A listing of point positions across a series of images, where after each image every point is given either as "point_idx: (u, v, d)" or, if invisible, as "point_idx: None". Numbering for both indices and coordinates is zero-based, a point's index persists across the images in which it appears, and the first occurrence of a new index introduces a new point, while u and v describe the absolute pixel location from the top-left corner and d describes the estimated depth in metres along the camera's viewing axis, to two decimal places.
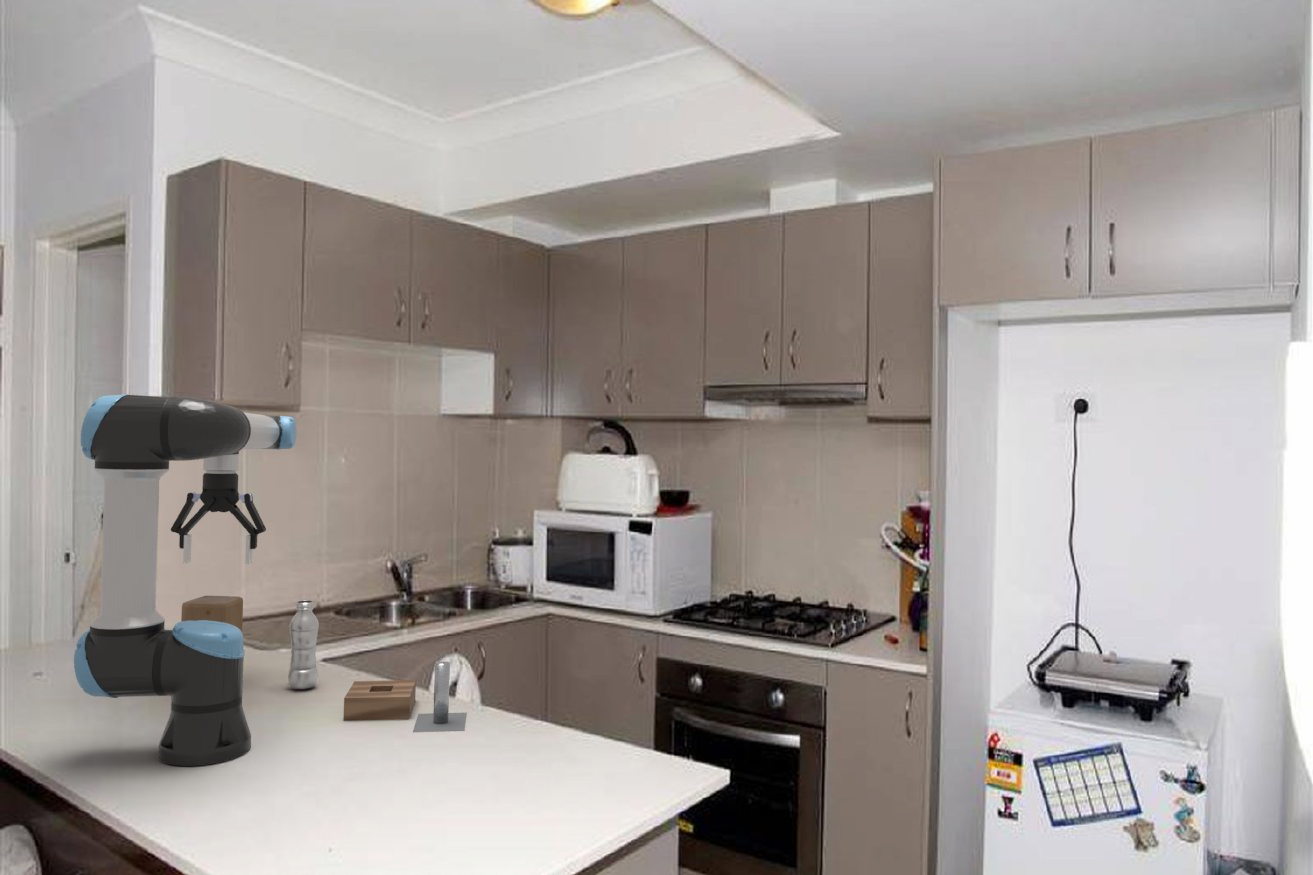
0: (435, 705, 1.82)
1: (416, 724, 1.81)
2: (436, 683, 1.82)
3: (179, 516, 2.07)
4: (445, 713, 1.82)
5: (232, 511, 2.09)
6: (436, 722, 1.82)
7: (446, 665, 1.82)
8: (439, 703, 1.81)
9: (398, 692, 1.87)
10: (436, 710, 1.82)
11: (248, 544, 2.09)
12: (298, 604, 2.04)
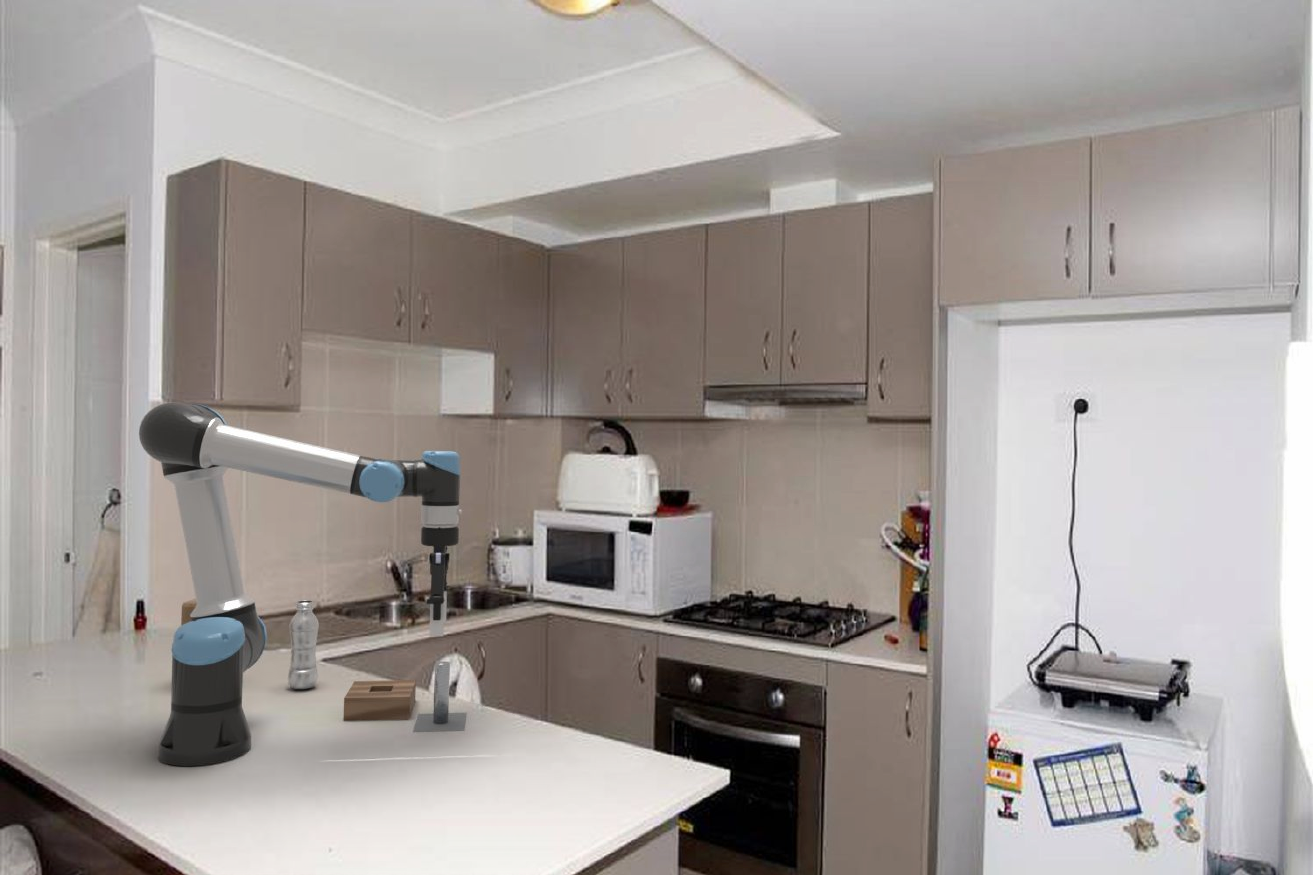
0: (435, 705, 1.82)
1: (416, 724, 1.81)
2: (436, 683, 1.82)
3: None
4: (445, 713, 1.82)
5: (430, 571, 1.80)
6: (436, 722, 1.82)
7: (446, 665, 1.82)
8: (439, 703, 1.81)
9: (398, 692, 1.87)
10: (436, 710, 1.82)
11: (430, 613, 1.77)
12: (298, 604, 2.04)
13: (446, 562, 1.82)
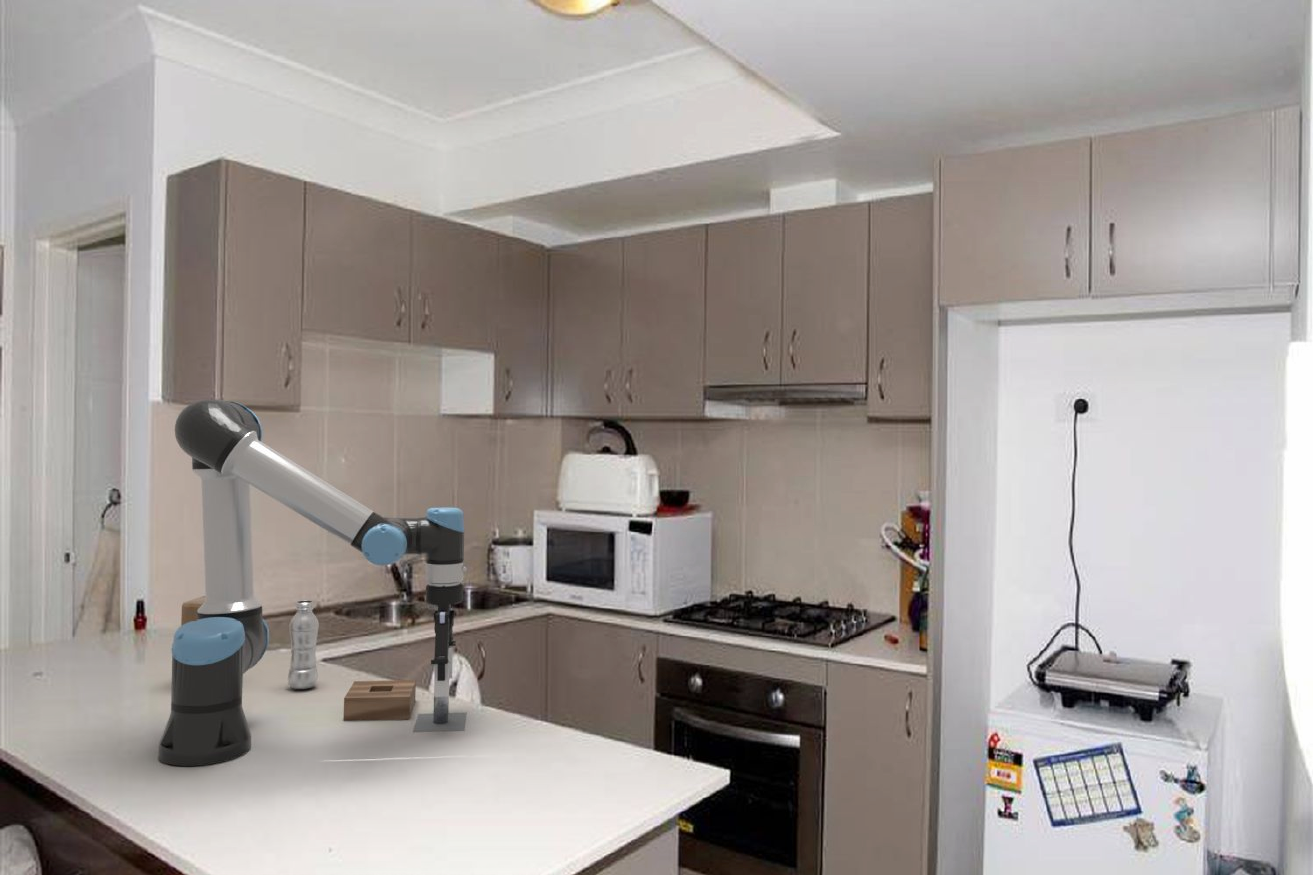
0: (435, 705, 1.82)
1: (416, 724, 1.81)
2: None
3: None
4: (445, 713, 1.82)
5: None
6: (436, 722, 1.82)
7: None
8: (439, 703, 1.81)
9: (398, 692, 1.87)
10: (436, 710, 1.82)
11: None
12: (298, 604, 2.04)
13: (451, 620, 1.81)
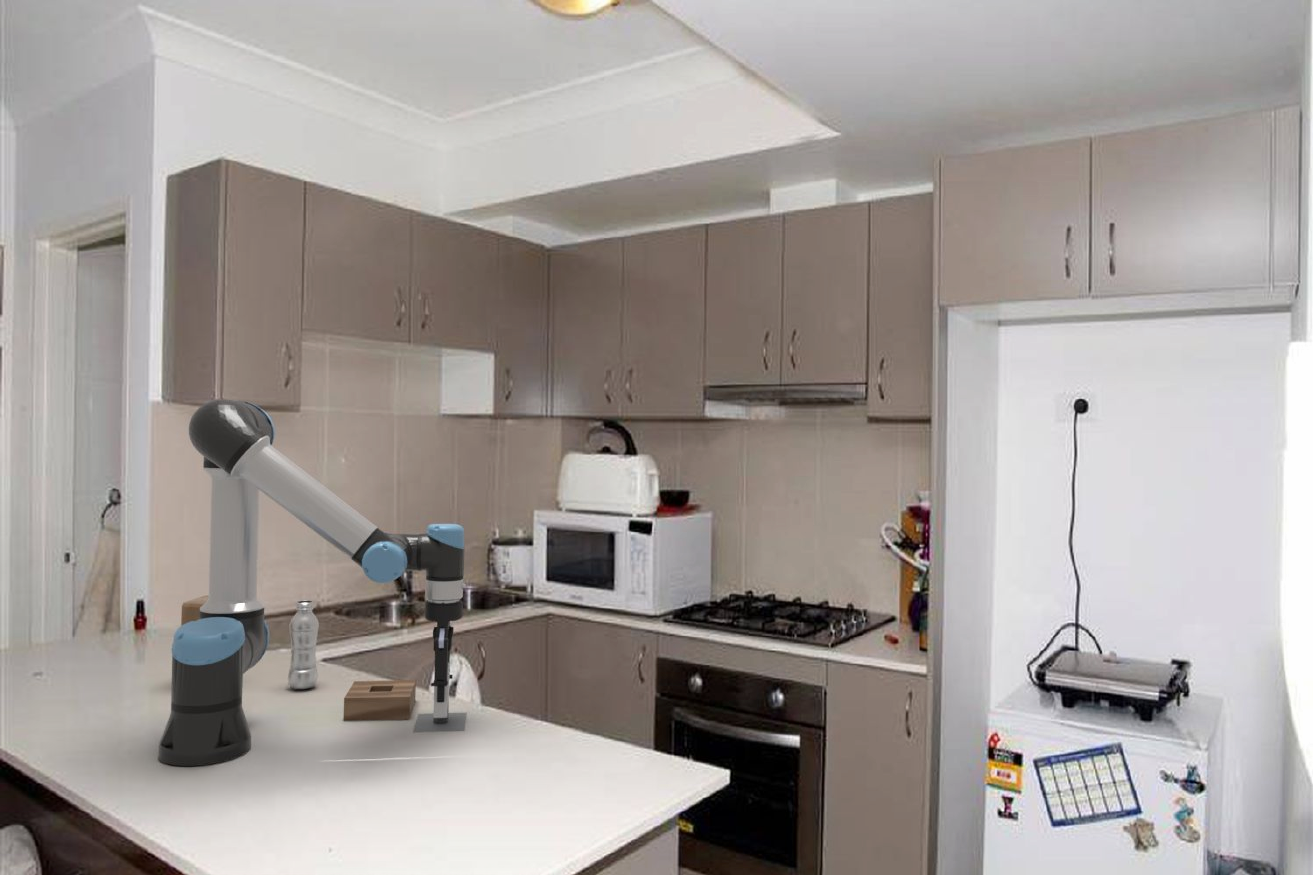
0: None
1: (416, 724, 1.81)
2: None
3: None
4: None
5: None
6: (436, 722, 1.82)
7: None
8: None
9: (398, 692, 1.87)
10: None
11: (434, 695, 1.81)
12: (298, 604, 2.04)
13: (450, 640, 1.81)
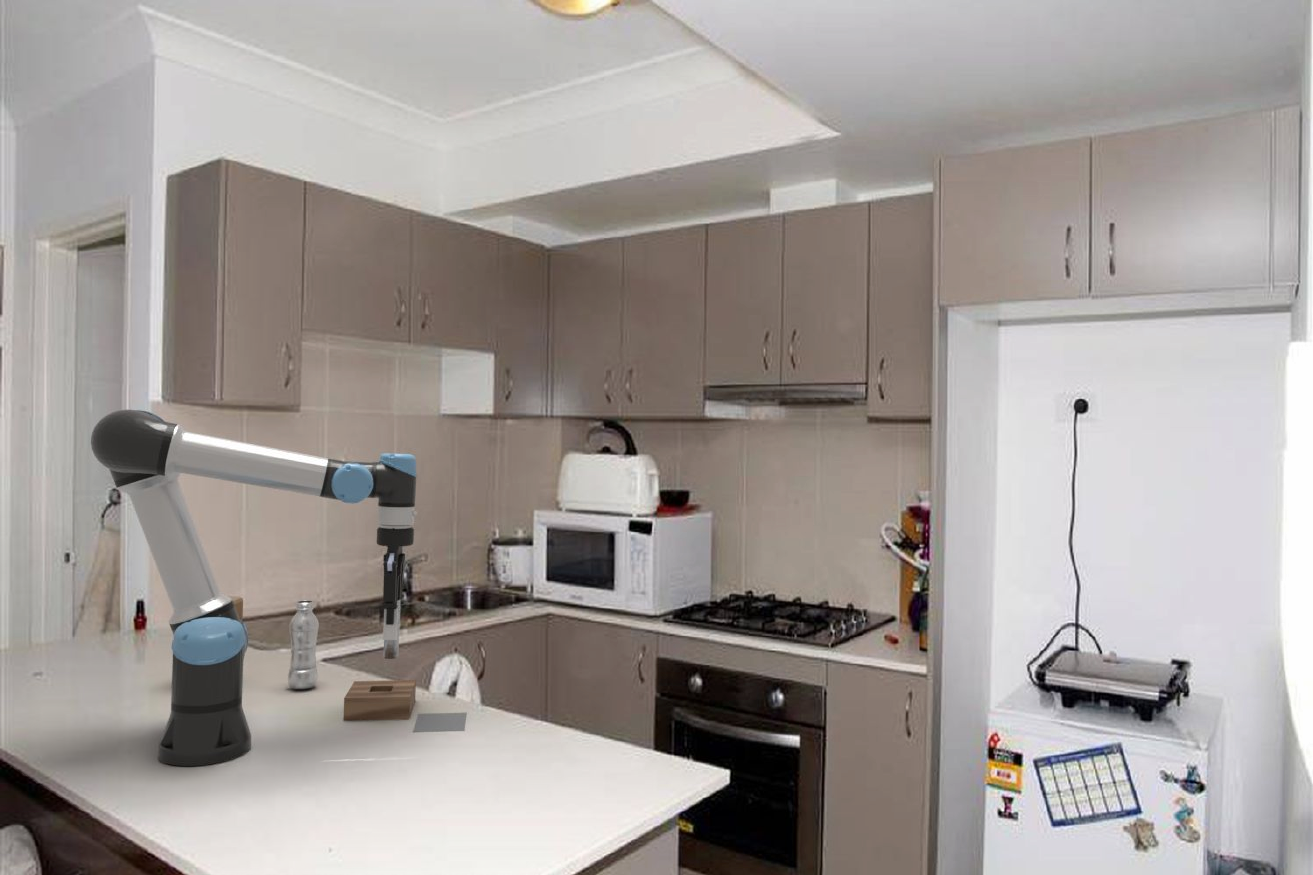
0: (385, 640, 1.87)
1: (416, 724, 1.81)
2: None
3: None
4: (395, 648, 1.87)
5: None
6: (386, 657, 1.87)
7: None
8: None
9: (398, 692, 1.87)
10: (386, 645, 1.87)
11: (384, 618, 1.86)
12: (298, 604, 2.04)
13: (400, 565, 1.87)
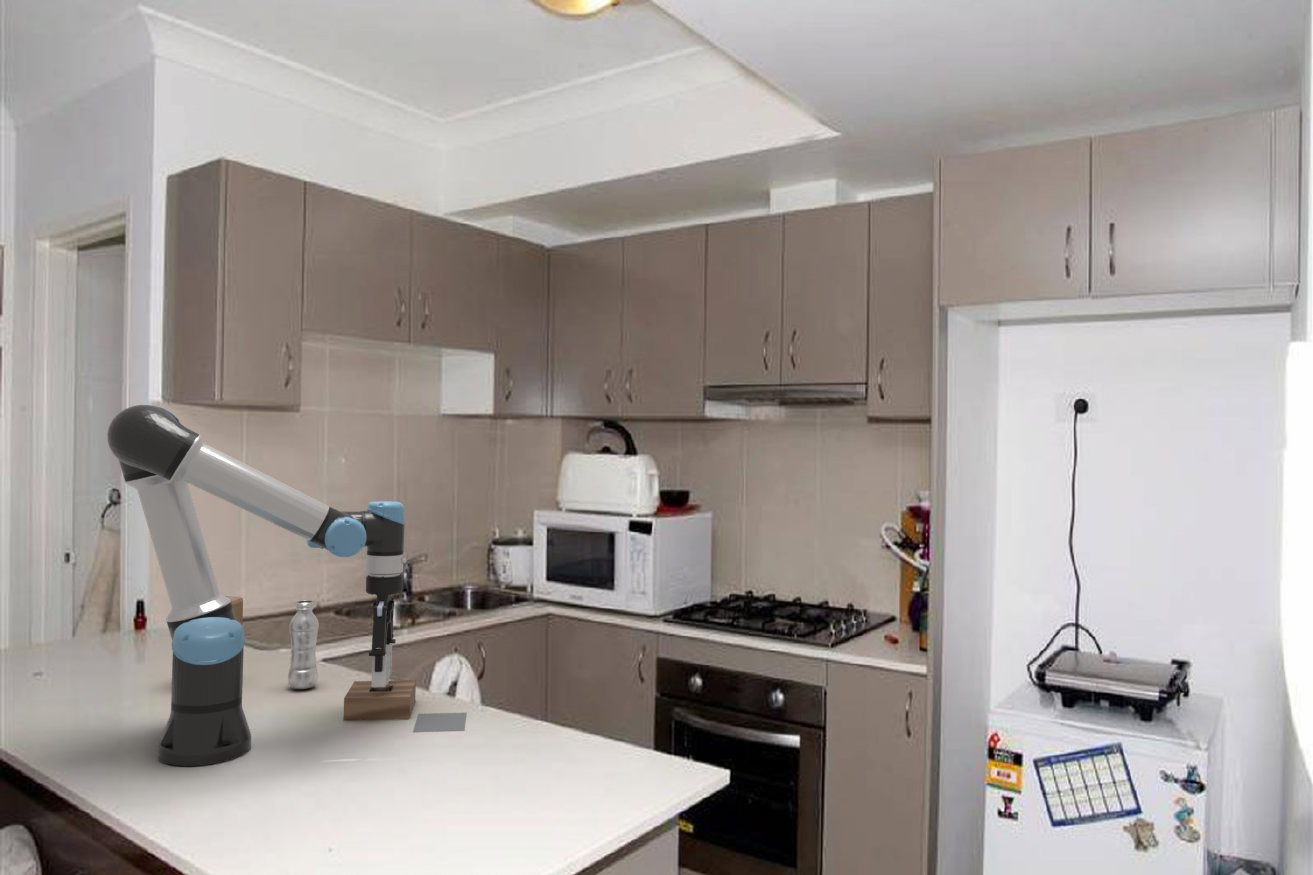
0: None
1: (416, 724, 1.81)
2: None
3: None
4: None
5: None
6: None
7: (386, 657, 1.89)
8: None
9: (398, 692, 1.87)
10: None
11: (372, 665, 1.85)
12: (298, 604, 2.04)
13: (389, 611, 1.88)
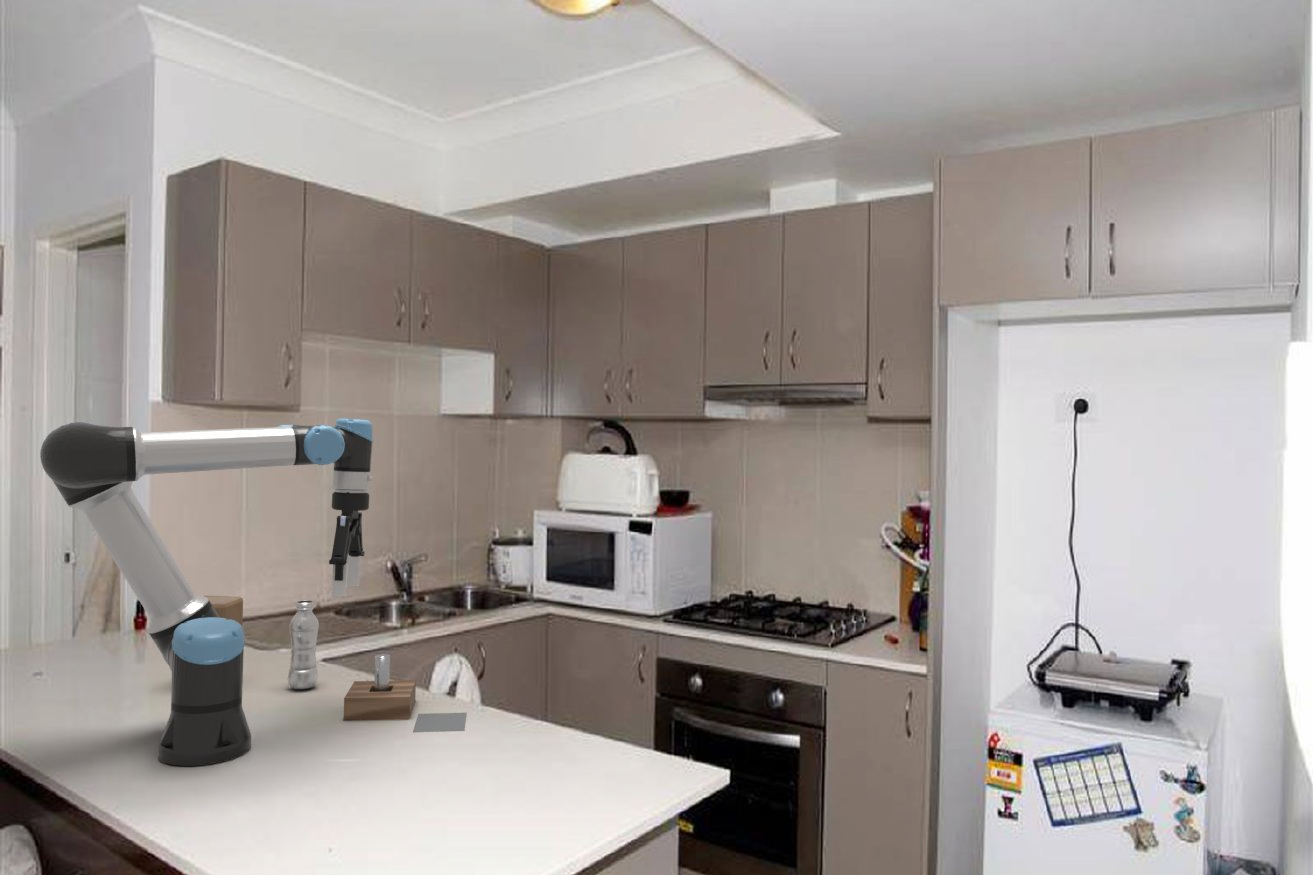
0: None
1: (416, 724, 1.81)
2: (376, 675, 1.88)
3: None
4: None
5: None
6: None
7: (386, 657, 1.89)
8: None
9: (398, 692, 1.87)
10: None
11: (333, 574, 1.83)
12: (298, 604, 2.04)
13: (353, 526, 1.88)
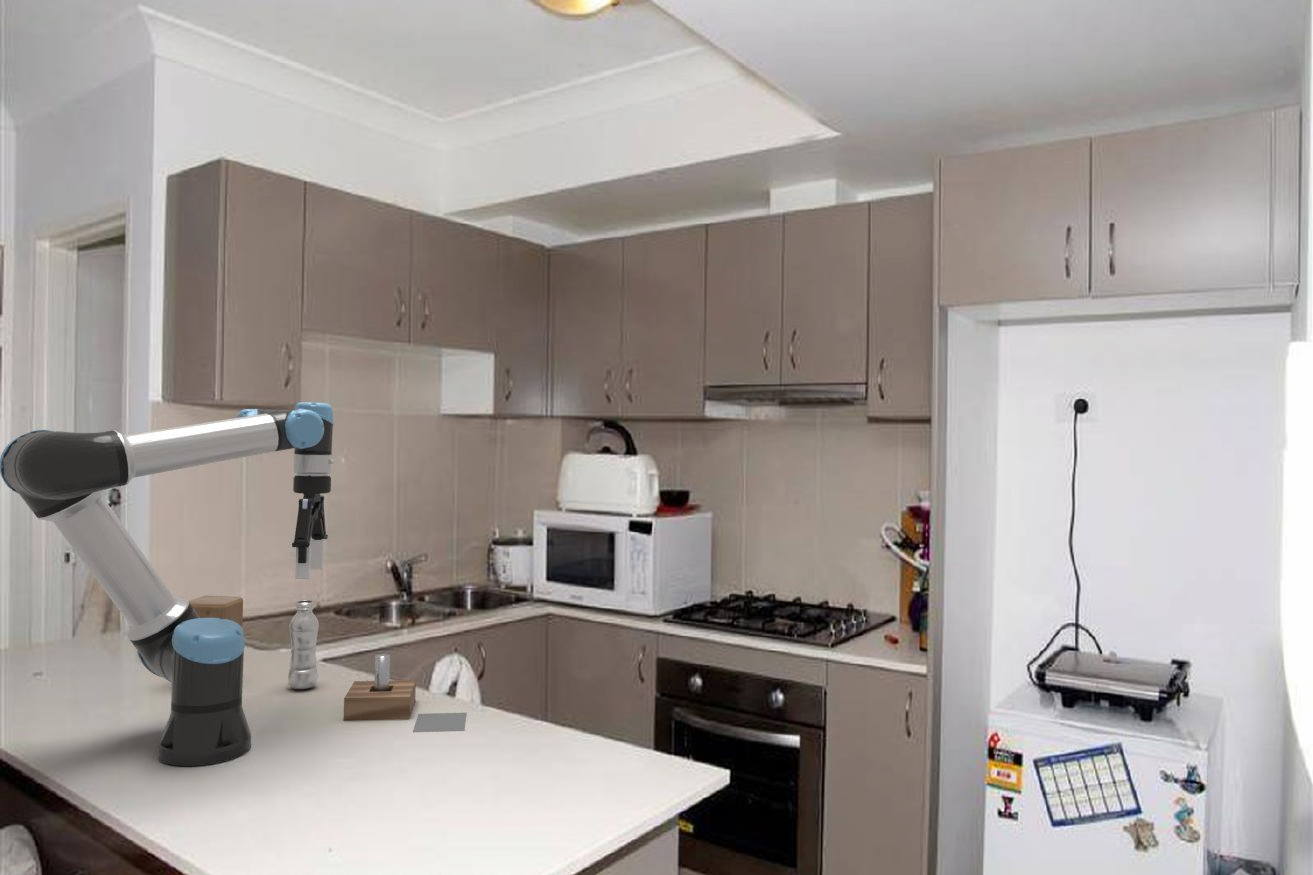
0: None
1: (416, 724, 1.81)
2: (376, 675, 1.88)
3: None
4: None
5: None
6: None
7: (386, 657, 1.89)
8: None
9: (398, 692, 1.87)
10: None
11: (296, 556, 1.84)
12: (298, 604, 2.04)
13: (316, 509, 1.89)
